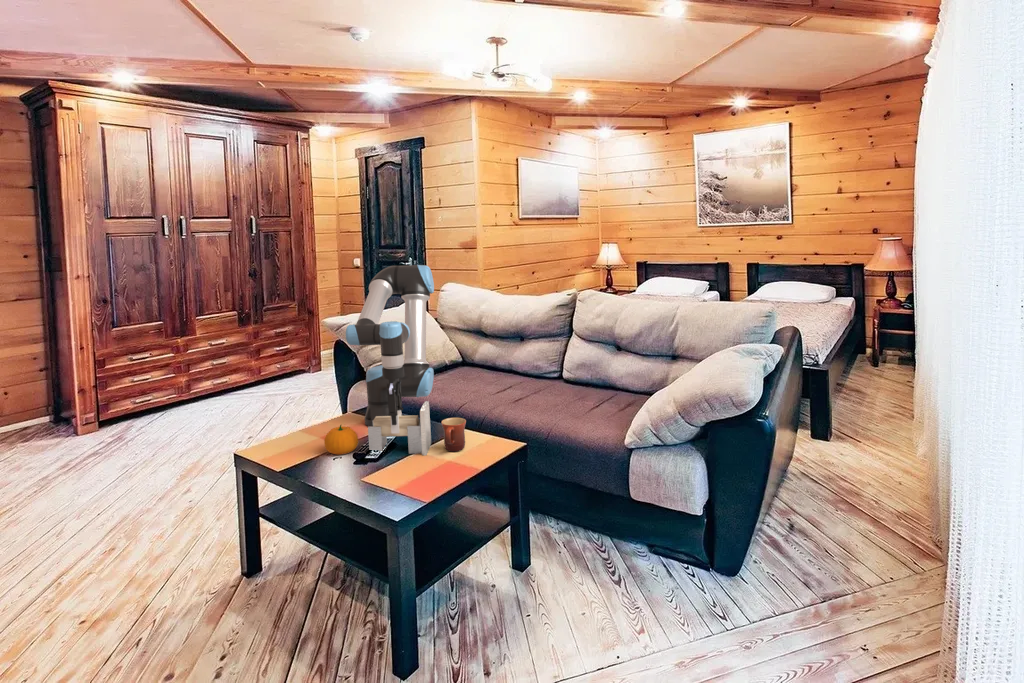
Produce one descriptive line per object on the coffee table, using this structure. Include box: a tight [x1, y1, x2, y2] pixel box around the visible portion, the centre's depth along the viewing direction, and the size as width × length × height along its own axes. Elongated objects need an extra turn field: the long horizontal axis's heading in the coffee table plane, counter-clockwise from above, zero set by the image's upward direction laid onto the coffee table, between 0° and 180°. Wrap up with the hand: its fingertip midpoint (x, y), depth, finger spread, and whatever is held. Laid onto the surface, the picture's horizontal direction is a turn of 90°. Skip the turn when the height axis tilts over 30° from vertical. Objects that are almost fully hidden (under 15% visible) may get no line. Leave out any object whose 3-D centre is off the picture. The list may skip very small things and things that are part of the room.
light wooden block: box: [373, 414, 419, 437], centre depth 217 cm, size 4×15×6 cm, turn 90°
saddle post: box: [367, 423, 388, 452], centre depth 218 cm, size 8×4×10 cm, turn 0°
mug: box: [441, 417, 467, 453], centre depth 216 cm, size 12×9×10 cm
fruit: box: [323, 424, 359, 456], centre depth 218 cm, size 12×12×10 cm
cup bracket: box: [407, 400, 432, 456], centre depth 217 cm, size 12×6×16 cm, turn 0°
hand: (396, 430), depth 217 cm, fingers open, 5 cm apart
